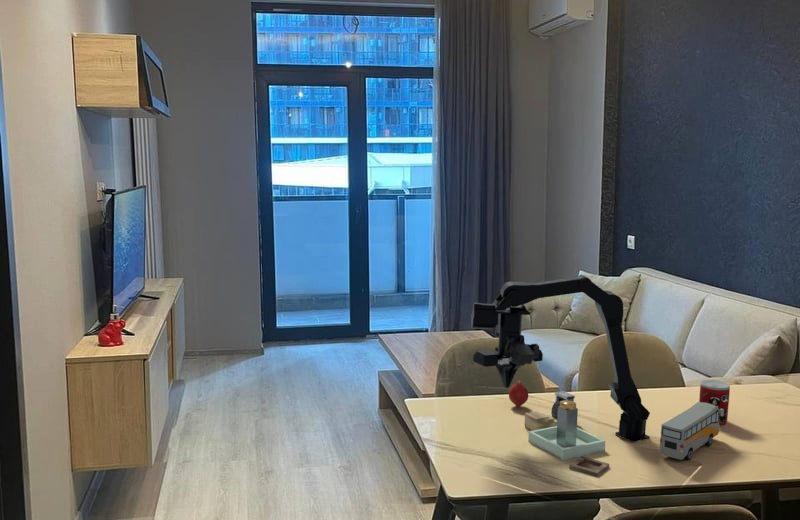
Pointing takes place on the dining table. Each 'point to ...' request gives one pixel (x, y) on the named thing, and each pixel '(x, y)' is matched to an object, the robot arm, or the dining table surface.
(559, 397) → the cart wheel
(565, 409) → the pin
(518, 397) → the onion
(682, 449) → the toy bus
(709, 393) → the canned food
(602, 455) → the dining table surface
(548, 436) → the tray
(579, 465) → the pin socket
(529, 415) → the block
